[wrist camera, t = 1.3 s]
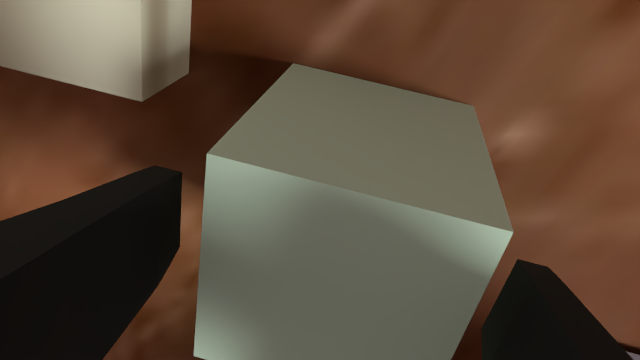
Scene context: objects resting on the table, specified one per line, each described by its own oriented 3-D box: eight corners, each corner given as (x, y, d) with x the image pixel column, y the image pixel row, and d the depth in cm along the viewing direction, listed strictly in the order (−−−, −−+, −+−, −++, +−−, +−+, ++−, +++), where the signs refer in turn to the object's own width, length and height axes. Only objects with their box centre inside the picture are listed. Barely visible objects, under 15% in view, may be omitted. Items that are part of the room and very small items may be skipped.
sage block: (473, 105, 12) (513, 232, 7) (419, 250, 15) (420, 422, 10) (293, 62, 13) (206, 153, 7) (271, 210, 15) (193, 355, 10)
